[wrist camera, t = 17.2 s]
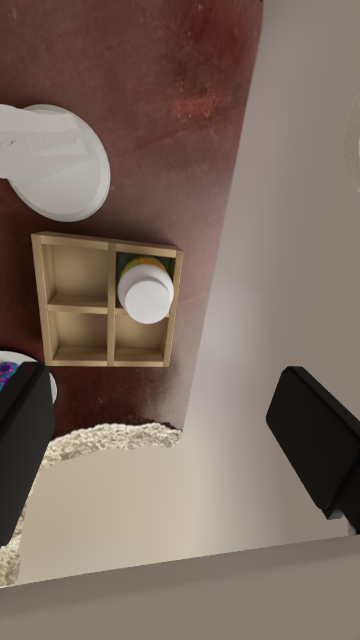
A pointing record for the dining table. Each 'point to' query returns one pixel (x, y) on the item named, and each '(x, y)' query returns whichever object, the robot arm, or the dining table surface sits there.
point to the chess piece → (53, 161)
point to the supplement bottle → (145, 289)
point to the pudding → (6, 364)
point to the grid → (97, 302)
